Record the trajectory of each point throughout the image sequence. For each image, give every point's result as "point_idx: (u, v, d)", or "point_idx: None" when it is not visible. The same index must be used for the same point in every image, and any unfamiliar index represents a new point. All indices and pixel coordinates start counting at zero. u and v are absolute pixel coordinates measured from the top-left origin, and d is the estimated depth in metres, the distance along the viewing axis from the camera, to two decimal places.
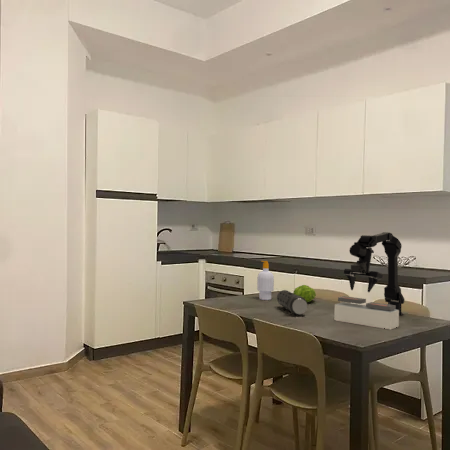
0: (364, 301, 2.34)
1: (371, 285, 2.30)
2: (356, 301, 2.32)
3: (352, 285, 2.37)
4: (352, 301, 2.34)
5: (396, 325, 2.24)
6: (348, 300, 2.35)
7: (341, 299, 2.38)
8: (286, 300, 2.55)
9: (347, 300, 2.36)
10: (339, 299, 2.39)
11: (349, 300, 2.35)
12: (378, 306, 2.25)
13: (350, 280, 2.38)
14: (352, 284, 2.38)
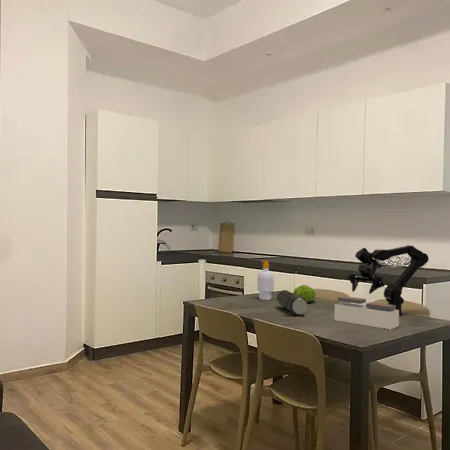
0: (364, 301, 2.34)
1: (373, 288, 2.42)
2: (356, 301, 2.32)
3: (353, 287, 2.48)
4: (352, 301, 2.34)
5: (396, 325, 2.24)
6: (348, 300, 2.35)
7: (341, 299, 2.38)
8: (286, 300, 2.55)
9: (347, 300, 2.36)
10: (339, 299, 2.39)
11: (349, 300, 2.35)
12: (378, 306, 2.25)
13: (353, 282, 2.49)
14: (354, 287, 2.49)
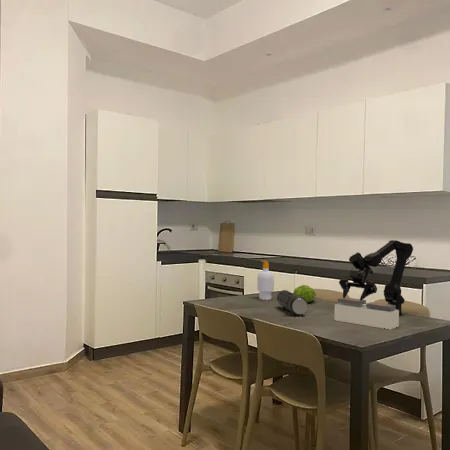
0: (364, 302, 2.34)
1: (365, 294, 2.35)
2: (356, 302, 2.32)
3: (344, 293, 2.41)
4: (352, 302, 2.34)
5: (396, 325, 2.24)
6: (348, 301, 2.35)
7: (341, 300, 2.38)
8: (286, 300, 2.55)
9: (347, 301, 2.36)
10: (339, 300, 2.39)
11: (349, 301, 2.35)
12: (378, 306, 2.25)
13: (344, 288, 2.43)
14: (345, 293, 2.42)
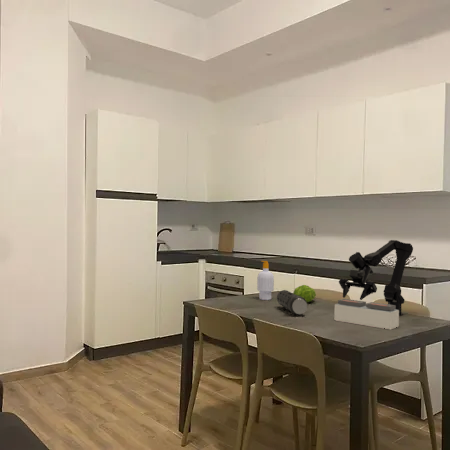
0: (364, 304, 2.34)
1: (364, 294, 2.35)
2: (356, 304, 2.32)
3: (344, 293, 2.41)
4: (352, 304, 2.34)
5: (396, 325, 2.24)
6: (348, 303, 2.35)
7: (341, 302, 2.38)
8: (286, 300, 2.55)
9: (347, 303, 2.36)
10: (339, 302, 2.39)
11: (349, 303, 2.35)
12: (378, 306, 2.25)
13: (344, 288, 2.43)
14: (345, 292, 2.42)
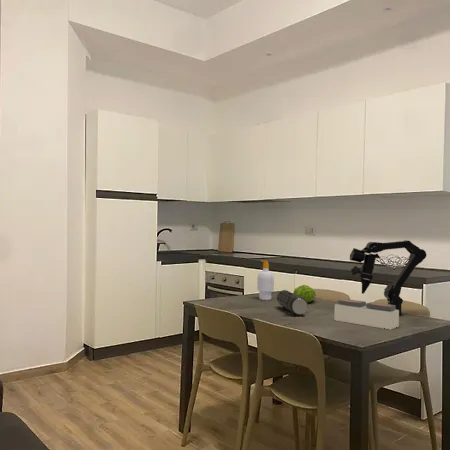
0: (364, 304, 2.34)
1: (364, 286, 2.50)
2: (356, 304, 2.32)
3: None
4: (352, 304, 2.34)
5: (396, 325, 2.24)
6: (348, 303, 2.35)
7: (341, 302, 2.38)
8: (286, 300, 2.55)
9: (347, 303, 2.36)
10: (339, 302, 2.39)
11: (349, 303, 2.35)
12: (378, 306, 2.25)
13: None
14: None
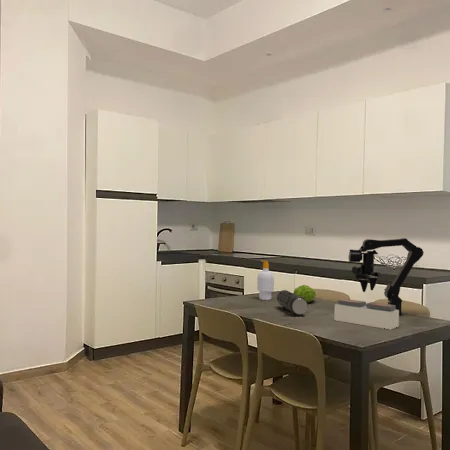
0: (364, 304, 2.34)
1: (363, 285, 2.54)
2: (356, 304, 2.32)
3: (370, 286, 2.62)
4: (352, 304, 2.34)
5: (396, 325, 2.24)
6: (348, 303, 2.35)
7: (341, 302, 2.38)
8: (286, 300, 2.55)
9: (347, 303, 2.36)
10: (339, 302, 2.39)
11: (349, 303, 2.35)
12: (378, 306, 2.25)
13: None
14: (371, 285, 2.62)
